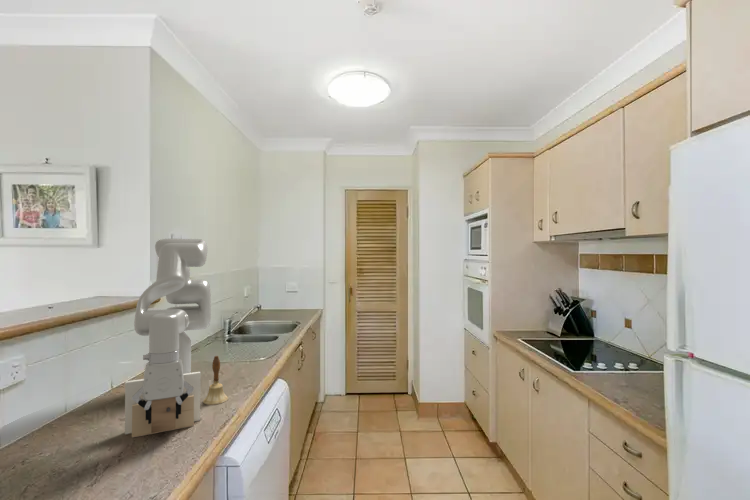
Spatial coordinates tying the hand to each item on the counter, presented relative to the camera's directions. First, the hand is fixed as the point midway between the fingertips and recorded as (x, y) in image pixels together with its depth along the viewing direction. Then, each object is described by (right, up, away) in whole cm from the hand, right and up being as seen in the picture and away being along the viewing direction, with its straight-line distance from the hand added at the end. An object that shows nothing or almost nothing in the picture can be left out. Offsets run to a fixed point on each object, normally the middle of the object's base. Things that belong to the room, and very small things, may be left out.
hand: (163, 418), depth 110 cm
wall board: (-3, -5, +6) cm, 9 cm away
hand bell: (+4, -6, +27) cm, 28 cm away
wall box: (-1, -3, +2) cm, 4 cm away
